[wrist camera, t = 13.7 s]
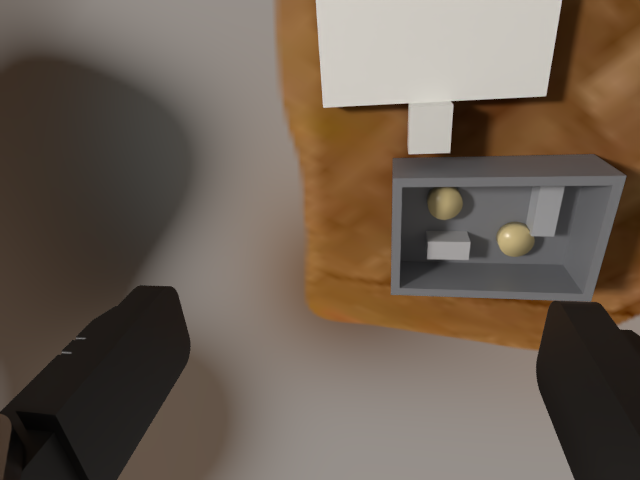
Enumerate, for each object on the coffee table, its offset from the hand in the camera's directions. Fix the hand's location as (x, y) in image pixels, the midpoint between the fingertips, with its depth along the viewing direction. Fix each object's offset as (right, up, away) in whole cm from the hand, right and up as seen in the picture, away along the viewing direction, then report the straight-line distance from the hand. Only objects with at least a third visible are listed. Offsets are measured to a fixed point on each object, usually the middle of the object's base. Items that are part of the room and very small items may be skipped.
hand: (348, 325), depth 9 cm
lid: (+9, +19, +27) cm, 34 cm away
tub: (+16, +4, +33) cm, 37 cm away
